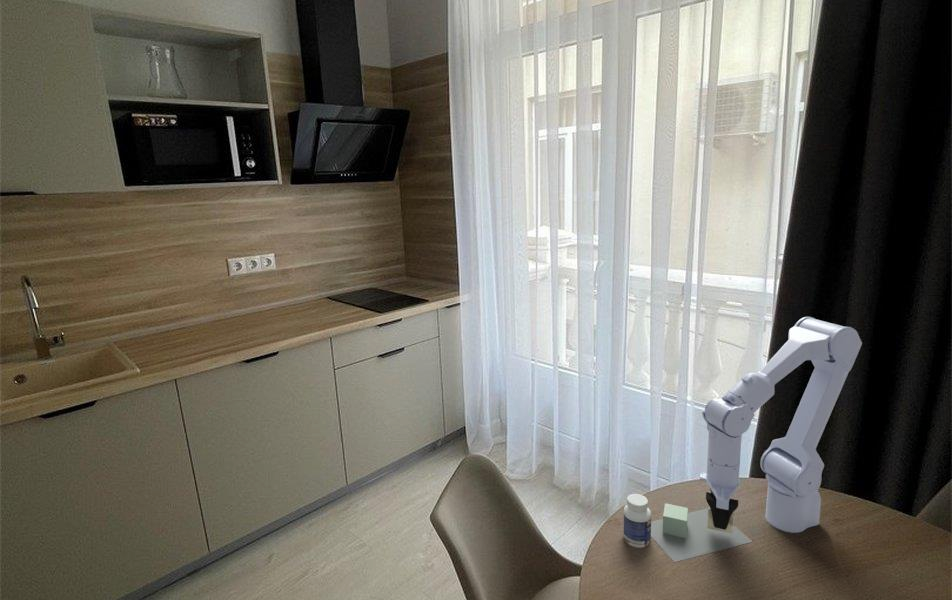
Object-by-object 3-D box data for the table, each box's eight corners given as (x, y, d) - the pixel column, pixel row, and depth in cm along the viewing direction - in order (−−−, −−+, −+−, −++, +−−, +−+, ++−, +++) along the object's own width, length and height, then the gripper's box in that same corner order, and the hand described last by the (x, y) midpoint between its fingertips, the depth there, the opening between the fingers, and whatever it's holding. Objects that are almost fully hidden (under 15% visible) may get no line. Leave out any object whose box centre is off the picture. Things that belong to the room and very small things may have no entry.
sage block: (664, 519, 105) (665, 503, 104) (687, 524, 103) (687, 508, 102) (662, 532, 101) (663, 515, 100) (686, 538, 99) (686, 521, 98)
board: (711, 510, 108) (712, 507, 108) (752, 545, 97) (752, 541, 97) (640, 527, 104) (640, 524, 104) (674, 565, 93) (674, 562, 93)
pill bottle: (652, 552, 97) (653, 508, 95) (624, 549, 98) (624, 506, 96) (648, 533, 102) (649, 492, 100) (622, 531, 103) (622, 490, 101)
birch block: (707, 515, 101) (708, 496, 100) (731, 520, 99) (732, 501, 99) (707, 528, 97) (708, 508, 97) (732, 533, 96) (733, 514, 95)
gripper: (701, 438, 104) (699, 495, 106) (700, 474, 91) (697, 537, 94) (739, 444, 100) (735, 502, 103) (743, 481, 88) (738, 547, 91)
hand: (719, 519), depth 98 cm, fingers closed on birch block, 4 cm apart
